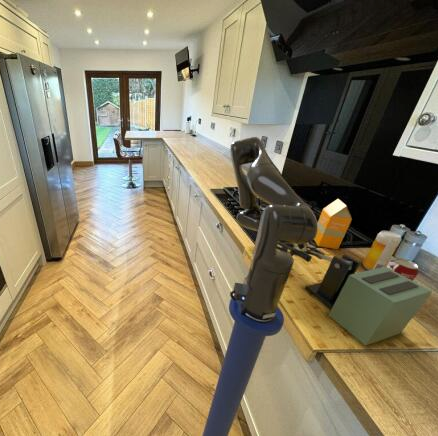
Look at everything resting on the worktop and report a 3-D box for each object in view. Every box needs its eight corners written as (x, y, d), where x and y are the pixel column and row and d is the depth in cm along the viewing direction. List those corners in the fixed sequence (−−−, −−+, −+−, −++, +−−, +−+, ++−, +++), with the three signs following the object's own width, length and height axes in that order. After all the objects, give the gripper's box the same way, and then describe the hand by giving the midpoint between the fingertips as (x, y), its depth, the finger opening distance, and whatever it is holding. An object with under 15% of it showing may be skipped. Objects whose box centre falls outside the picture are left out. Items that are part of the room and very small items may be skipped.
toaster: (328, 315, 69) (349, 274, 62) (361, 305, 72) (385, 265, 66) (365, 345, 60) (395, 301, 53) (401, 333, 64) (433, 290, 57)
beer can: (375, 264, 92) (394, 231, 86) (386, 274, 87) (407, 239, 80) (358, 262, 93) (375, 229, 87) (368, 271, 88) (387, 237, 81)
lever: (301, 255, 80) (302, 249, 79) (313, 253, 81) (313, 247, 81) (342, 271, 68) (344, 263, 67) (355, 268, 69) (356, 261, 69)
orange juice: (317, 246, 103) (335, 204, 94) (311, 236, 111) (327, 196, 102) (338, 249, 101) (358, 207, 92) (330, 239, 109) (348, 199, 100)
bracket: (304, 288, 78) (320, 251, 72) (322, 284, 81) (339, 248, 74) (334, 311, 70) (355, 272, 63) (353, 306, 72) (375, 267, 66)
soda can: (407, 299, 76) (428, 269, 70) (388, 299, 75) (407, 269, 70) (386, 284, 82) (404, 256, 76) (368, 285, 81) (385, 256, 76)
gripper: (264, 227, 88) (303, 251, 74) (294, 223, 92) (336, 245, 78) (260, 244, 92) (296, 271, 77) (288, 239, 96) (328, 264, 81)
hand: (316, 258), depth 78 cm, fingers closed on lever, 5 cm apart
